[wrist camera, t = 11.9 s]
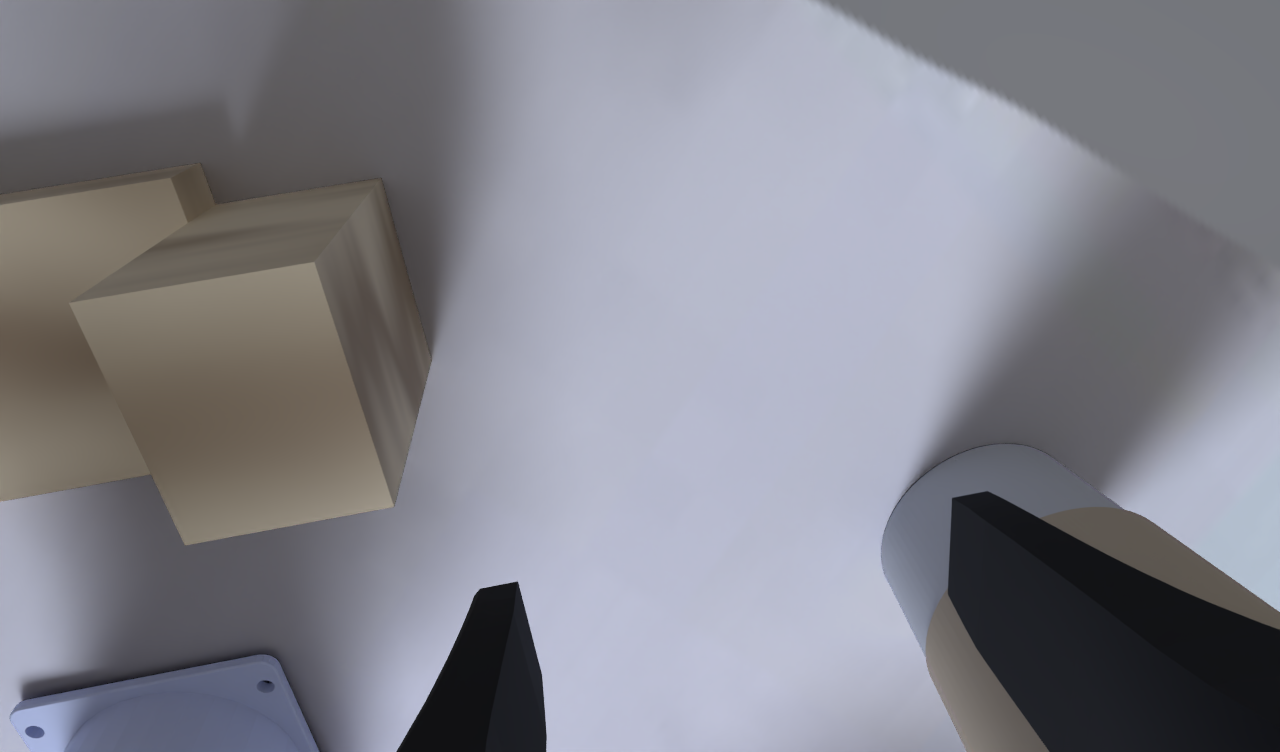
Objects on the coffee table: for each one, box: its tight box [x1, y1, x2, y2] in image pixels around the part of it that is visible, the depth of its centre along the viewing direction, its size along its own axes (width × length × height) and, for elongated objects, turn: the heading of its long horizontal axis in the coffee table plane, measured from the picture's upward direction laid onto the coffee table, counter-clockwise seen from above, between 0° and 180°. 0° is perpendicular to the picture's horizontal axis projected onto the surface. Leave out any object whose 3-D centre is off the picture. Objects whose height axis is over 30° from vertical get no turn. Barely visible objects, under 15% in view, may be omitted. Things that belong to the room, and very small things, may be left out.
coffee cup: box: [881, 444, 1280, 752], centre depth 20 cm, size 9×9×15 cm
